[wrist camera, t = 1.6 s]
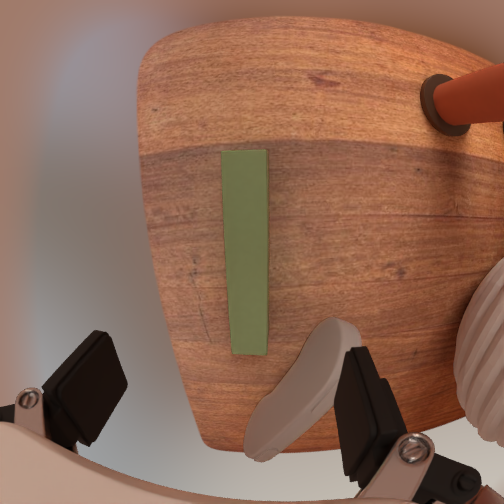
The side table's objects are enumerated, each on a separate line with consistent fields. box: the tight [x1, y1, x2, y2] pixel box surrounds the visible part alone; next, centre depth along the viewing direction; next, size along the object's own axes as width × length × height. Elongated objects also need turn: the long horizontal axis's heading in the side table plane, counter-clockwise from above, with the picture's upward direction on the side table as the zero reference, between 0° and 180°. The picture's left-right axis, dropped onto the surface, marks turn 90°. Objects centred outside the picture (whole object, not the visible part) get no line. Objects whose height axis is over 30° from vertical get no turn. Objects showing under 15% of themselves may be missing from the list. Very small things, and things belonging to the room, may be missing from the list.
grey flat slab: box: [243, 317, 362, 462], centre depth 23 cm, size 20×2×8 cm, turn 156°
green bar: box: [221, 149, 269, 355], centre depth 21 cm, size 3×16×4 cm, turn 1°
